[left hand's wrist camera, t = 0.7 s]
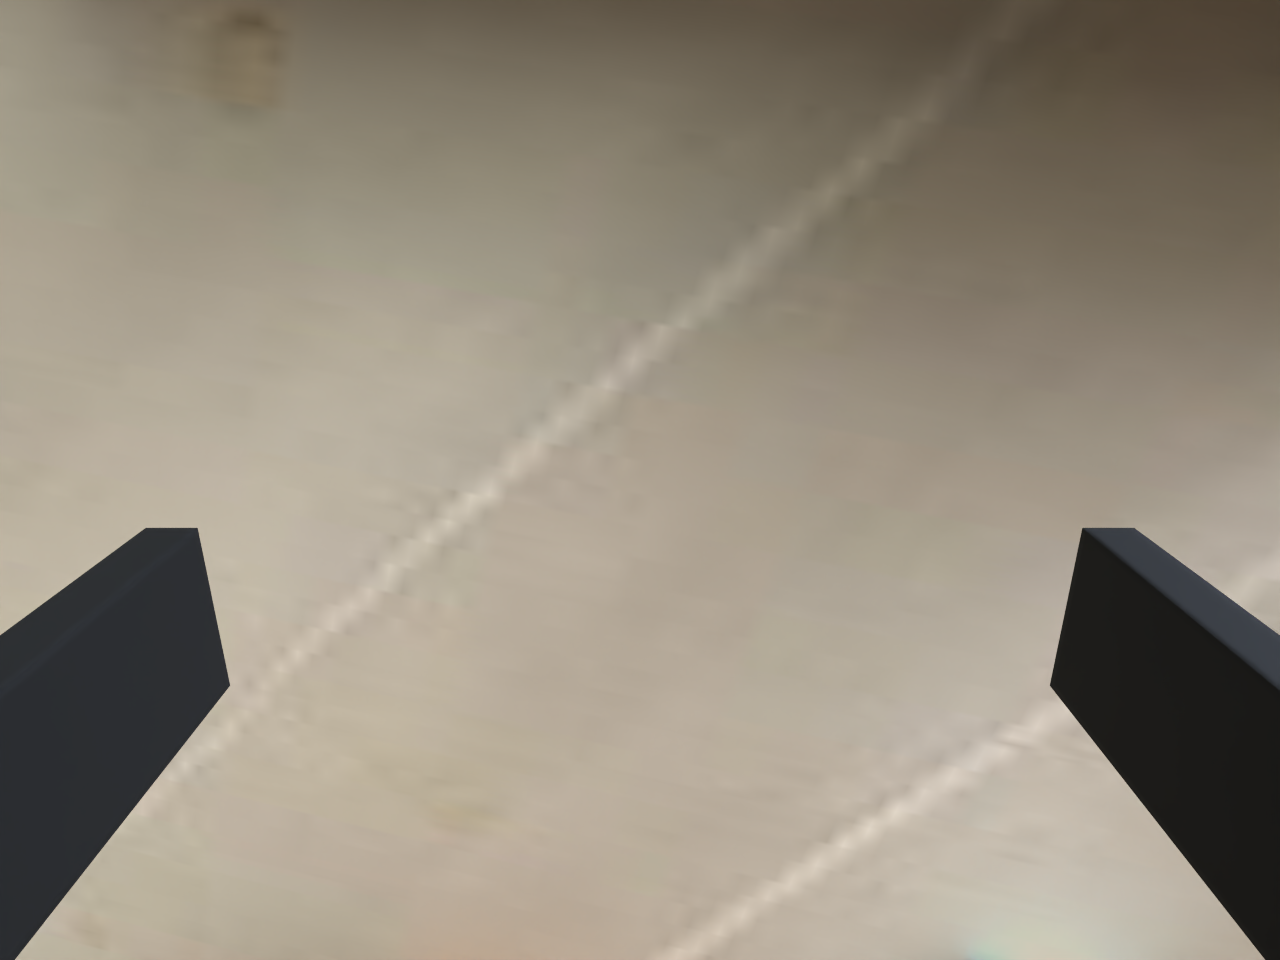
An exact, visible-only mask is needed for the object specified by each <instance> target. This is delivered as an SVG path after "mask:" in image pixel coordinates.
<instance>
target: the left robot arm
mask: <svg viewBox="0 0 1280 960" xmlns="http://www.w3.org/2000/svg"><path fill="white" fill-rule="evenodd" d="M229 686H230V683H229V678H228V673H227V668H226V664H225V659H224V654H223V649H222V644H221V639H220V635H219V630H218V625H217V620H216V615H215V610H214V606H213V601H212V596H211V591H210V586H209V581H208V576H207V572H206V567H205V562H204V557H203V552H202V547H201V543H200V538H199V533H198V528H145V529H144V530H143V531H141V532H140V533H138V534H137V535H136V536H134V537H133V538H132V539H130V540H129V541H128V542H126V543H125V544H124V545H122V546H121V547H119V548H118V549H117V550H115V551H114V552H113V553H111V554H110V555H109V556H107V557H106V558H105V559H103V560H102V561H100V562H99V563H98V564H96V565H95V566H94V567H92V568H91V569H90V570H88V571H87V572H86V573H84V574H83V575H82V576H80V577H79V578H77V579H76V580H75V581H73V582H72V583H71V584H69V585H68V586H67V587H65V588H64V589H63V590H61V591H60V592H58V593H57V594H56V595H54V596H53V597H52V598H50V599H49V600H48V601H46V602H45V603H44V604H42V605H41V606H40V607H38V608H37V609H35V610H34V611H33V612H31V613H30V614H29V615H27V616H26V617H25V618H23V619H22V620H21V621H19V622H18V623H16V624H15V625H14V626H12V627H11V628H10V629H8V630H7V631H6V632H4V633H3V634H2V635H0V960H15V959H16V957H17V956H18V955H19V954H20V952H21V951H22V950H23V948H24V947H25V946H26V945H27V943H28V942H29V941H30V940H31V938H32V937H33V936H34V934H35V933H36V932H37V931H38V929H39V928H40V927H41V926H42V924H43V923H44V922H45V920H46V919H47V918H48V917H49V915H50V914H51V913H52V912H53V910H54V909H55V908H56V906H57V905H58V904H59V903H60V901H61V900H62V899H63V898H64V896H65V895H66V894H67V892H68V891H69V890H70V889H71V887H72V886H73V885H74V884H75V882H76V881H77V880H78V878H79V877H80V876H81V875H82V873H83V872H84V871H85V870H86V868H87V867H88V866H89V864H90V863H91V862H92V861H93V859H94V858H95V857H96V856H97V854H98V853H99V852H100V850H101V849H102V848H103V847H104V845H105V844H106V843H107V842H108V840H109V839H110V838H111V836H112V835H113V834H114V833H115V831H116V830H117V829H118V828H119V826H120V825H121V824H122V822H123V821H124V820H125V819H126V817H127V816H128V815H129V814H130V812H131V811H132V810H133V808H134V807H135V806H136V805H137V803H138V802H139V801H140V799H141V798H142V797H143V796H144V794H145V793H146V792H147V791H148V789H149V788H150V787H151V785H152V784H153V783H154V782H155V780H156V779H157V778H158V777H159V775H160V774H161V773H162V771H163V770H164V769H165V768H166V766H167V765H168V764H169V763H170V761H171V760H172V759H173V757H174V756H175V755H176V754H177V752H178V751H179V750H180V749H181V747H182V746H183V745H184V743H185V742H186V741H187V740H188V738H189V737H190V736H191V735H192V733H193V732H194V731H195V729H196V728H197V727H198V726H199V724H200V723H201V722H202V721H203V719H204V718H205V717H206V715H207V714H208V713H209V712H210V710H211V709H212V708H213V707H214V705H215V704H216V703H217V701H218V700H219V699H220V698H221V696H222V695H223V694H224V693H225V691H226V690H227V689H228V687H229ZM1050 686H1051V687H1052V689H1053V690H1054V691H1055V693H1056V694H1057V695H1058V696H1059V698H1060V699H1061V700H1062V701H1063V703H1064V704H1065V705H1066V707H1067V708H1068V709H1069V710H1070V712H1071V713H1072V714H1073V715H1074V717H1075V718H1076V719H1077V721H1078V722H1079V723H1080V724H1081V726H1082V727H1083V728H1084V729H1085V731H1086V732H1087V733H1088V735H1089V736H1090V737H1091V738H1092V740H1093V741H1094V742H1095V743H1096V745H1097V746H1098V747H1099V749H1100V750H1101V751H1102V752H1103V754H1104V755H1105V756H1106V757H1107V759H1108V760H1109V761H1110V763H1111V764H1112V765H1113V766H1114V768H1115V769H1116V770H1117V771H1118V773H1119V774H1120V775H1121V777H1122V778H1123V779H1124V780H1125V782H1126V783H1127V784H1128V785H1129V787H1130V788H1131V789H1132V791H1133V792H1134V793H1135V794H1136V796H1137V797H1138V798H1139V800H1140V801H1141V802H1142V803H1143V805H1144V806H1145V807H1146V808H1147V810H1148V811H1149V812H1150V814H1151V815H1152V816H1153V817H1154V819H1155V820H1156V821H1157V822H1158V824H1159V825H1160V826H1161V828H1162V829H1163V830H1164V831H1165V833H1166V834H1167V835H1168V836H1169V838H1170V839H1171V840H1172V842H1173V843H1174V844H1175V845H1176V847H1177V848H1178V849H1179V850H1180V852H1181V853H1182V854H1183V856H1184V857H1185V858H1186V859H1187V861H1188V862H1189V863H1190V864H1191V866H1192V867H1193V868H1194V870H1195V871H1196V872H1197V873H1198V875H1199V876H1200V877H1201V878H1202V880H1203V881H1204V882H1205V884H1206V885H1207V886H1208V887H1209V889H1210V890H1211V891H1212V892H1213V894H1214V895H1215V896H1216V898H1217V899H1218V900H1219V901H1220V903H1221V904H1222V905H1223V906H1224V908H1225V909H1226V910H1227V912H1228V913H1229V914H1230V915H1231V917H1232V918H1233V919H1234V920H1235V922H1236V923H1237V924H1238V926H1239V927H1240V928H1241V929H1242V931H1243V932H1244V933H1245V934H1246V936H1247V937H1248V938H1249V940H1250V941H1251V942H1252V943H1253V945H1254V946H1255V947H1256V948H1257V950H1258V951H1259V952H1260V954H1261V955H1262V956H1263V957H1264V959H1265V960H1280V635H1278V634H1277V633H1276V632H1274V631H1273V630H1272V629H1270V628H1269V627H1268V626H1266V625H1265V624H1264V623H1262V622H1261V621H1259V620H1258V619H1257V618H1255V617H1254V616H1253V615H1251V614H1250V613H1249V612H1247V611H1246V610H1245V609H1243V608H1242V607H1240V606H1239V605H1238V604H1236V603H1235V602H1234V601H1232V600H1231V599H1230V598H1228V597H1227V596H1226V595H1224V594H1223V593H1222V592H1220V591H1219V590H1217V589H1216V588H1215V587H1213V586H1212V585H1211V584H1209V583H1208V582H1207V581H1205V580H1204V579H1203V578H1201V577H1200V576H1198V575H1197V574H1196V573H1194V572H1193V571H1192V570H1190V569H1189V568H1188V567H1186V566H1185V565H1184V564H1182V563H1181V562H1180V561H1178V560H1177V559H1175V558H1174V557H1173V556H1171V555H1170V554H1169V553H1167V552H1166V551H1165V550H1163V549H1162V548H1161V547H1159V546H1158V545H1156V544H1155V543H1154V542H1152V541H1151V540H1150V539H1148V538H1147V537H1146V536H1144V535H1143V534H1142V533H1140V532H1139V531H1137V530H1136V529H1135V528H1082V533H1081V538H1080V543H1079V547H1078V552H1077V557H1076V562H1075V567H1074V572H1073V576H1072V581H1071V586H1070V591H1069V596H1068V601H1067V606H1066V610H1065V615H1064V620H1063V625H1062V630H1061V635H1060V639H1059V644H1058V649H1057V654H1056V659H1055V664H1054V668H1053V673H1052V678H1051V683H1050Z"/></svg>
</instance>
